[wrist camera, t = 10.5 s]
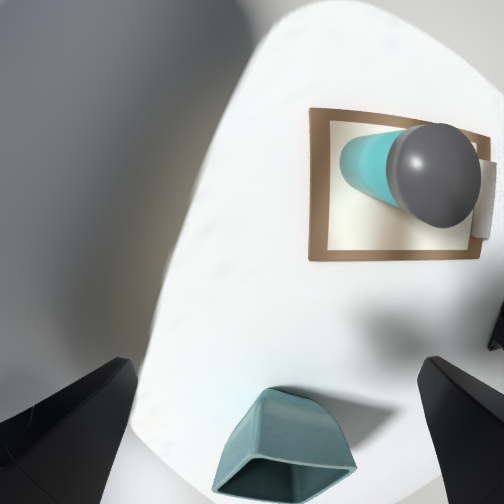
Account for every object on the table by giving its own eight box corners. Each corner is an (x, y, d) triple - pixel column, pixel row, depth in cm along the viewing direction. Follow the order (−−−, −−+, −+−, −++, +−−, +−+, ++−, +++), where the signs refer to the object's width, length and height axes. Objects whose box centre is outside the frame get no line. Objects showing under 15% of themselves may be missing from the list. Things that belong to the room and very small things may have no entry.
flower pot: (342, 391, 24) (360, 469, 15) (297, 438, 27) (300, 506, 18) (257, 365, 23) (251, 453, 15) (222, 419, 26) (209, 492, 17)
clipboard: (485, 137, 16) (496, 137, 14) (475, 256, 19) (484, 262, 17) (309, 109, 16) (312, 105, 15) (308, 257, 20) (310, 265, 18)
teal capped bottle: (392, 137, 16) (481, 133, 7) (391, 194, 17) (476, 229, 9) (337, 132, 16) (402, 115, 8) (337, 192, 17) (399, 227, 9)
